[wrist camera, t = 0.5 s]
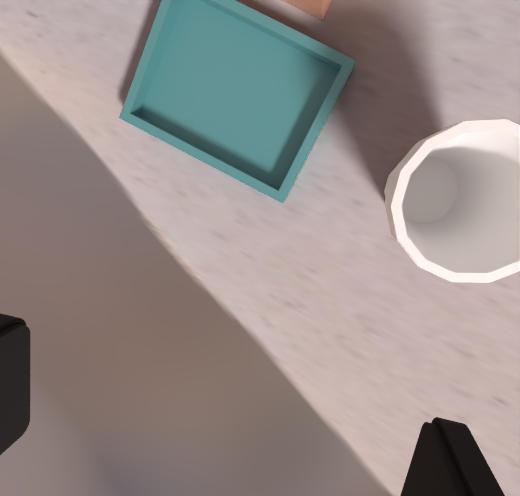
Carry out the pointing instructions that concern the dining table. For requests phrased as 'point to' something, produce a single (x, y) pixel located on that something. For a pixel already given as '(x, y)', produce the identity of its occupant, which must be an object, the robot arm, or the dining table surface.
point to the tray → (235, 90)
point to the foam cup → (460, 201)
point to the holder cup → (312, 6)
